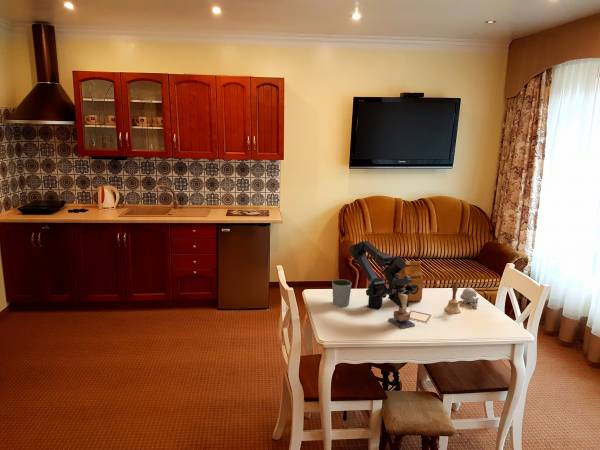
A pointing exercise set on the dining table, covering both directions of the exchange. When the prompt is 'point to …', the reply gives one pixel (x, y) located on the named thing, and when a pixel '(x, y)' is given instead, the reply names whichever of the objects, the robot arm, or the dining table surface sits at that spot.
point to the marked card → (420, 316)
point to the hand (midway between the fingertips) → (404, 307)
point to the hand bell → (453, 301)
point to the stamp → (402, 309)
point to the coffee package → (413, 279)
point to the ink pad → (401, 323)
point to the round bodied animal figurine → (470, 297)
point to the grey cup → (341, 292)
